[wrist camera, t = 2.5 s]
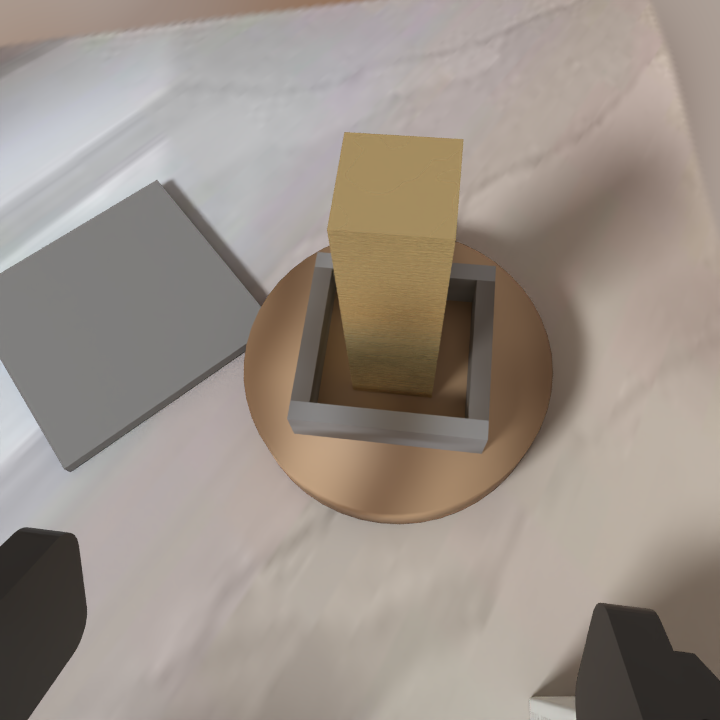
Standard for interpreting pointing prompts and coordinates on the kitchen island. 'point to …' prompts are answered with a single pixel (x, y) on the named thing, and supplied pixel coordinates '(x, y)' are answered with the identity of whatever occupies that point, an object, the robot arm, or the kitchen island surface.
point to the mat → (118, 322)
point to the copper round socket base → (399, 396)
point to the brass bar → (394, 255)
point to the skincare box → (552, 708)
